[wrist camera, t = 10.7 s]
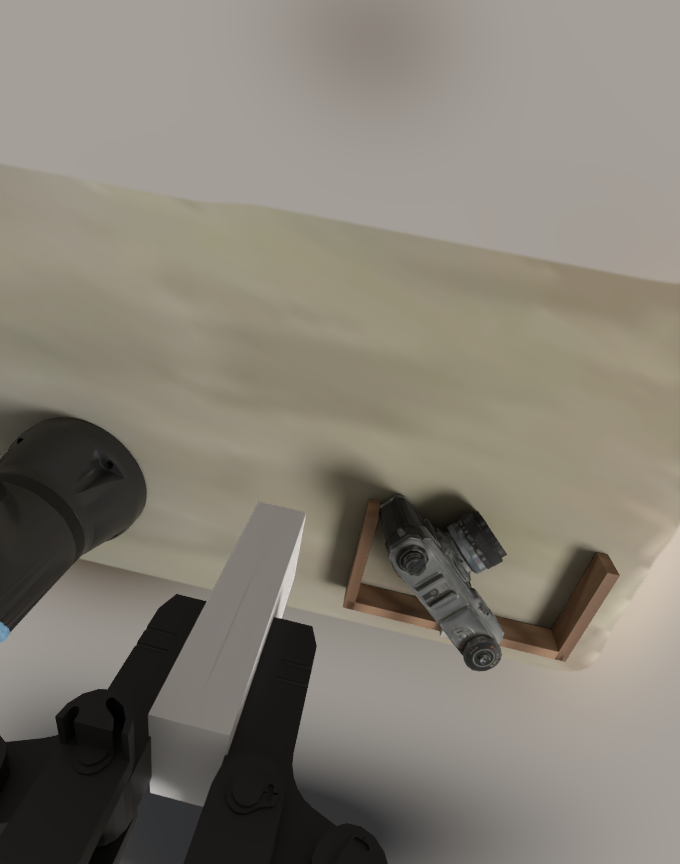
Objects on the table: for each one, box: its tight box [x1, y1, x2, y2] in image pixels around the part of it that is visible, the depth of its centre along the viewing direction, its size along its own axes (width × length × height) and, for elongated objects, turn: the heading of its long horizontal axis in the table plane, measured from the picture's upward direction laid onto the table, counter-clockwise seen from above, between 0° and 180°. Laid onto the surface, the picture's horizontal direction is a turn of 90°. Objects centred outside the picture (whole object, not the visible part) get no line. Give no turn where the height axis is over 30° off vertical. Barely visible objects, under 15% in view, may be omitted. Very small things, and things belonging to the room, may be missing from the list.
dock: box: [343, 499, 620, 662], centre depth 49 cm, size 25×13×4 cm, turn 79°
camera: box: [379, 494, 507, 671], centre depth 45 cm, size 18×9×10 cm, turn 36°
